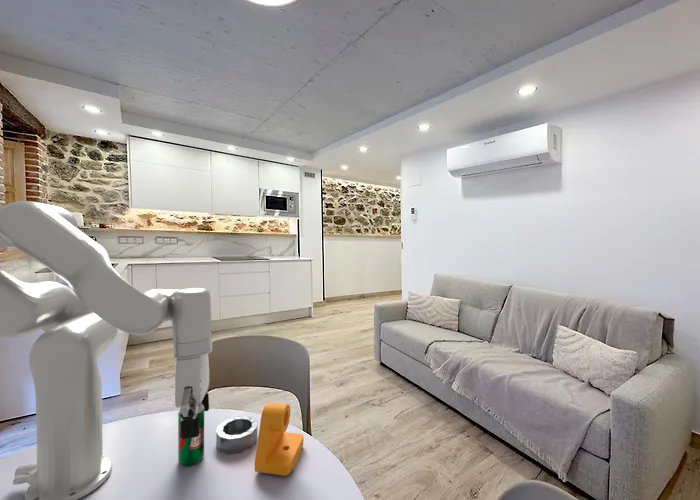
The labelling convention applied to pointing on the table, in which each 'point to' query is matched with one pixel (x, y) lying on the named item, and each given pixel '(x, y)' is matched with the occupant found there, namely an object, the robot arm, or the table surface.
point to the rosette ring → (236, 442)
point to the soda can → (191, 441)
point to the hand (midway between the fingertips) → (196, 423)
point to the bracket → (277, 441)
